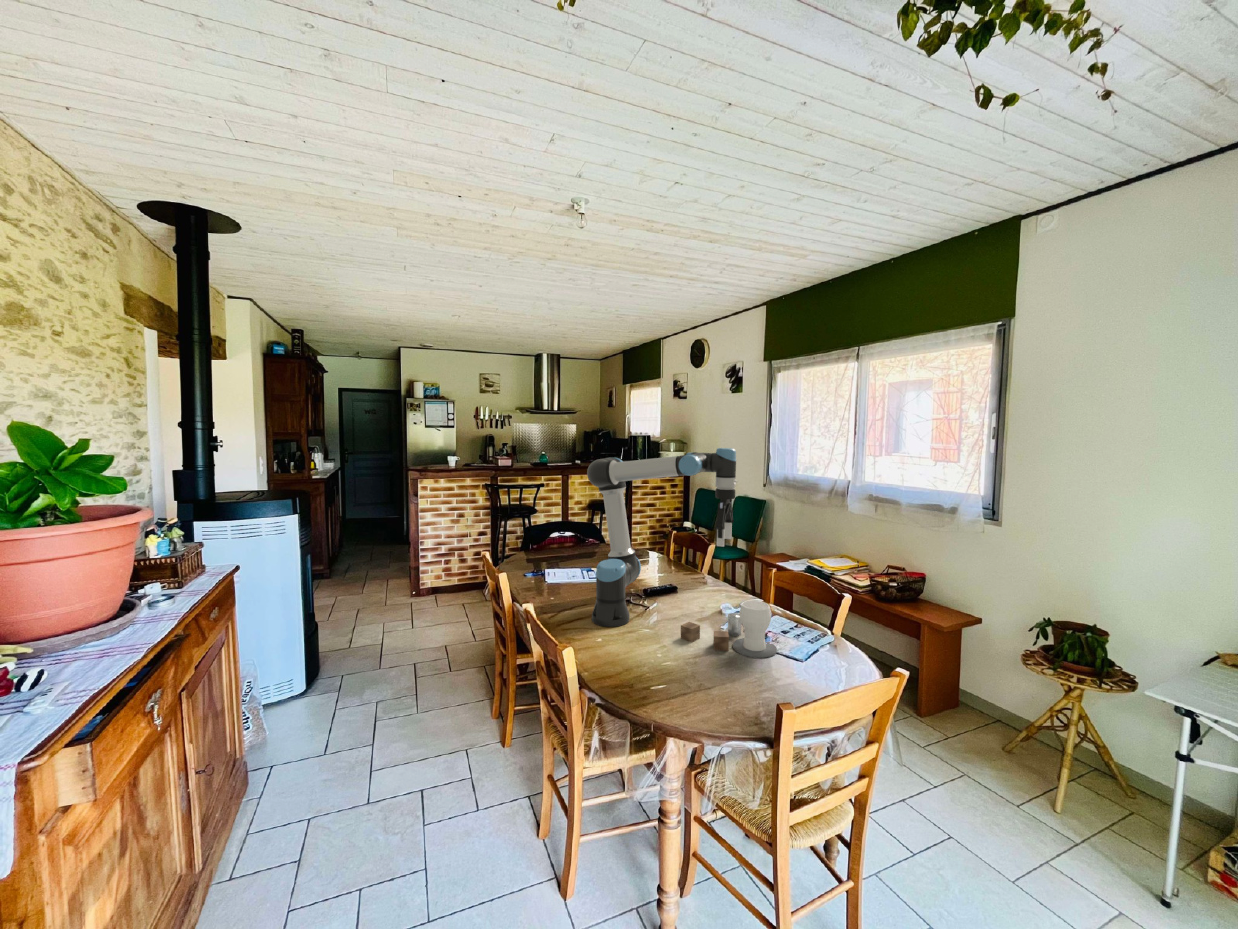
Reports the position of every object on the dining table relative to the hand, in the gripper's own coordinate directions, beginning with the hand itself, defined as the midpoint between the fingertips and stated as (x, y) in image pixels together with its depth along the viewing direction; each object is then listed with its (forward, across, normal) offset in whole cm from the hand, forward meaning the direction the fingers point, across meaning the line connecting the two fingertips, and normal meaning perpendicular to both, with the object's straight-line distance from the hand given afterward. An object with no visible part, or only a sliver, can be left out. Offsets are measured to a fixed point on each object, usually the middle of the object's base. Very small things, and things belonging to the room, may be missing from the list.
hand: (724, 542), depth 198 cm
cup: (+32, -17, -15) cm, 39 cm away
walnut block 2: (+33, -21, -4) cm, 39 cm away
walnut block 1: (+33, -18, +8) cm, 38 cm away
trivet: (+33, -17, -15) cm, 40 cm away
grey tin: (+33, -7, -6) cm, 34 cm away
